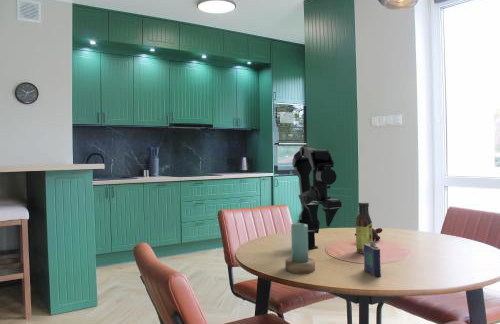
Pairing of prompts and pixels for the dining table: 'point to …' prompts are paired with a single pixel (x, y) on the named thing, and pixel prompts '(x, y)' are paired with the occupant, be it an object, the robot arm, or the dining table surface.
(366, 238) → the sauce bottle
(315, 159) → the robot arm
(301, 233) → the teal upright cylinder
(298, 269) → the stand
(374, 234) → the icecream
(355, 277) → the dining table surface
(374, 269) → the flask
